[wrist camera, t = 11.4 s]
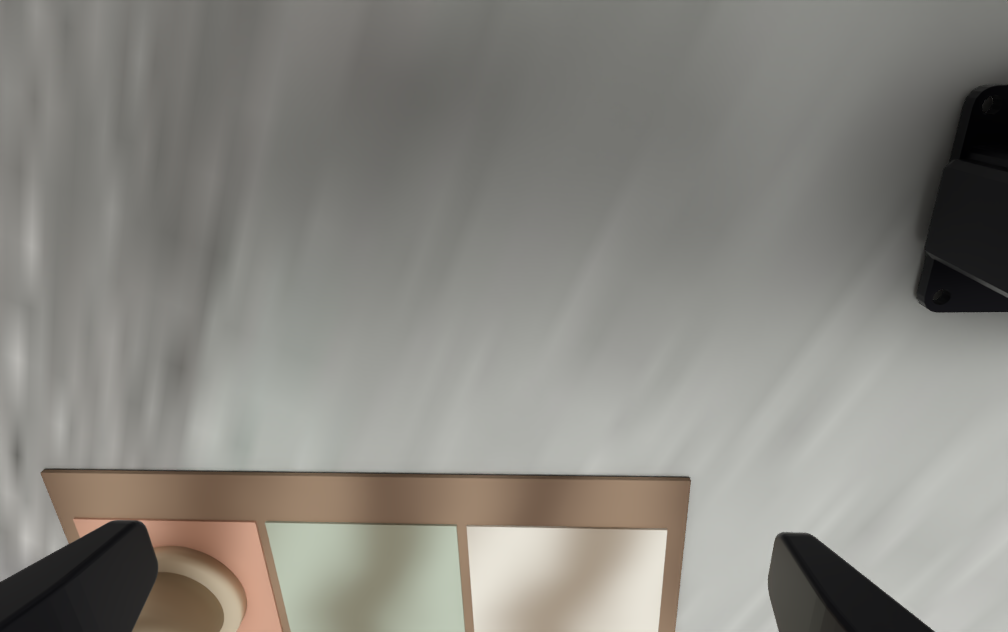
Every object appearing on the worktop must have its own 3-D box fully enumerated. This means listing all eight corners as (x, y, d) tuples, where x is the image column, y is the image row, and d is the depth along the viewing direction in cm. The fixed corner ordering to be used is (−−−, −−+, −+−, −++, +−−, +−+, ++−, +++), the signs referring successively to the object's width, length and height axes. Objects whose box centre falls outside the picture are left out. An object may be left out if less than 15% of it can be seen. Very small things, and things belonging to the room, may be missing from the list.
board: (689, 477, 22) (691, 482, 22) (666, 699, 27) (667, 705, 27) (44, 469, 24) (38, 474, 24) (127, 678, 29) (123, 684, 29)
